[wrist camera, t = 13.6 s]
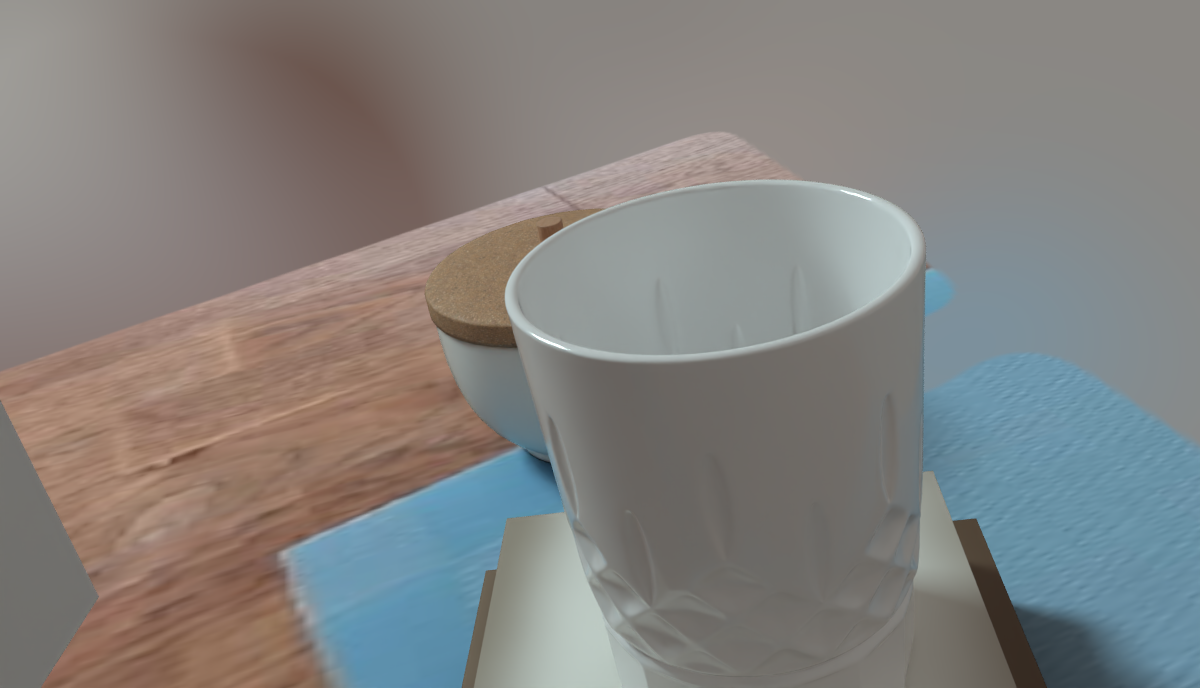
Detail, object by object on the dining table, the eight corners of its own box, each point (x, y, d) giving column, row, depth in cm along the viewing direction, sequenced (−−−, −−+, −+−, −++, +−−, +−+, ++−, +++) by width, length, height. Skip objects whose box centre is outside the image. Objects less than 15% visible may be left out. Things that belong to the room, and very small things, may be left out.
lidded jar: (738, 361, 49) (713, 164, 45) (682, 507, 41) (643, 279, 36) (520, 360, 53) (477, 178, 49) (426, 493, 44) (363, 285, 40)
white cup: (998, 750, 22) (997, 304, 17) (608, 822, 22) (503, 397, 17) (878, 515, 29) (854, 153, 24) (583, 570, 29) (504, 220, 24)
